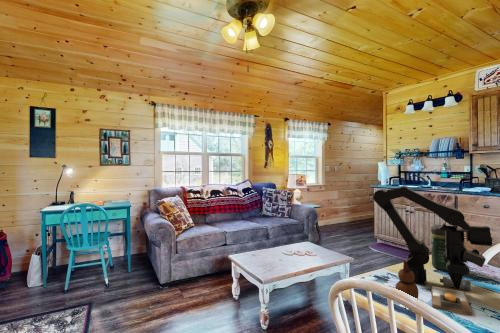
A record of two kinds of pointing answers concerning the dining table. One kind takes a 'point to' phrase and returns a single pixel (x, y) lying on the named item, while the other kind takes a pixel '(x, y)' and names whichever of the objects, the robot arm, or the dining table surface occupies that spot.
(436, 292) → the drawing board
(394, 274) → the dining table surface
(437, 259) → the coffee jar
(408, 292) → the wooden figurine
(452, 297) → the button
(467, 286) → the cylinder
